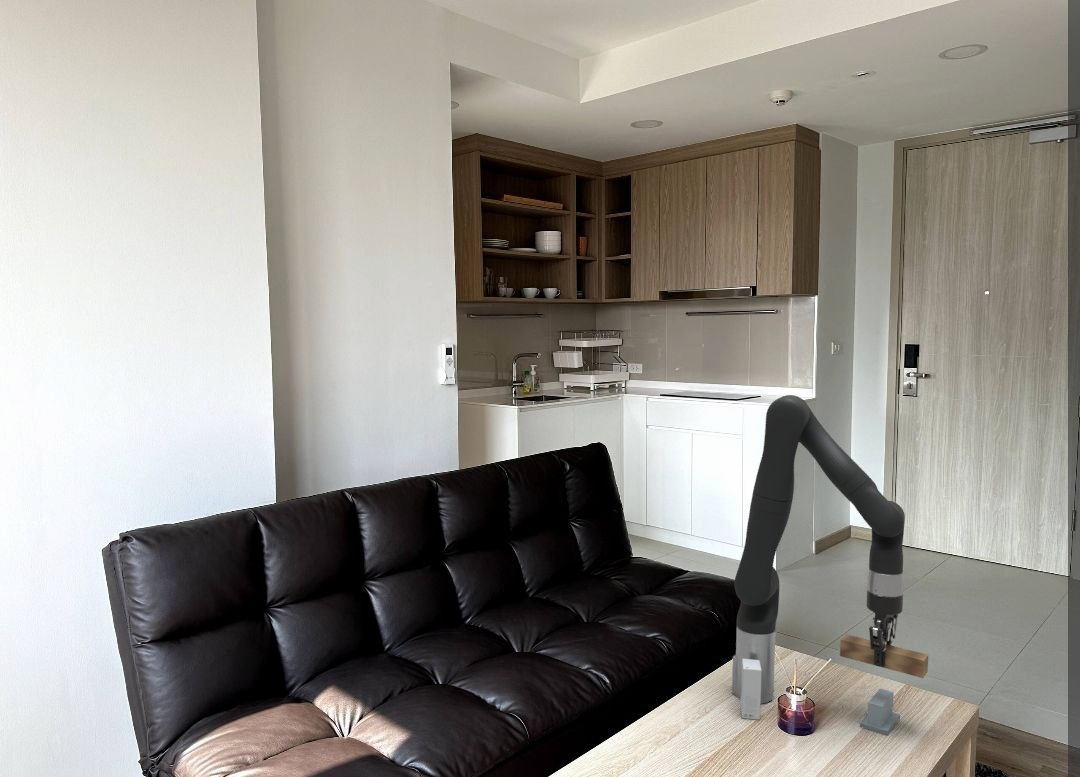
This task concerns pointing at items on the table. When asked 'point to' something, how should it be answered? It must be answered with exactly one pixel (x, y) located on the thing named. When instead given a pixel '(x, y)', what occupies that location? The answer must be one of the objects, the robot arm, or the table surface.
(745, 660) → the skincare box
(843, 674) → the table surface
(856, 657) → the walnut batten
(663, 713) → the table surface
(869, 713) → the ridge block
